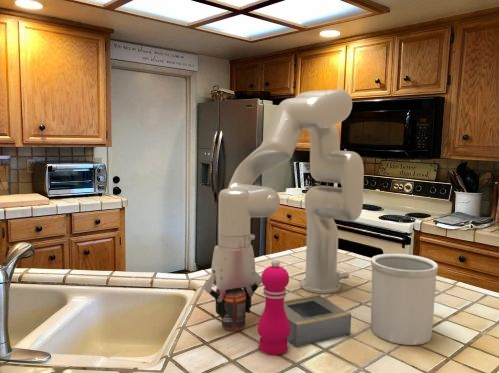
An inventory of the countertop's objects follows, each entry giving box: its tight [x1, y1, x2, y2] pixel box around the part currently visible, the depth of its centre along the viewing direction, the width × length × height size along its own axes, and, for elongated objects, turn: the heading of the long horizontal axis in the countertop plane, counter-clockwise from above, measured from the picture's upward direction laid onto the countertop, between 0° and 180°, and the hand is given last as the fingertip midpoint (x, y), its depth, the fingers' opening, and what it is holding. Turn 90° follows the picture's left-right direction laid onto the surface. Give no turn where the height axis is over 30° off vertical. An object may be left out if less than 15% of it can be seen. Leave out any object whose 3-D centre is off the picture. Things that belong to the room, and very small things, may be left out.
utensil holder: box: [370, 253, 439, 346], centre depth 99 cm, size 15×15×18 cm
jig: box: [284, 293, 352, 348], centre depth 101 cm, size 15×13×5 cm
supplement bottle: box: [220, 287, 247, 332], centre depth 101 cm, size 6×6×11 cm
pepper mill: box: [256, 258, 290, 356], centre depth 90 cm, size 7×7×20 cm
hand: (233, 312), depth 101 cm, fingers closed on supplement bottle, 6 cm apart
